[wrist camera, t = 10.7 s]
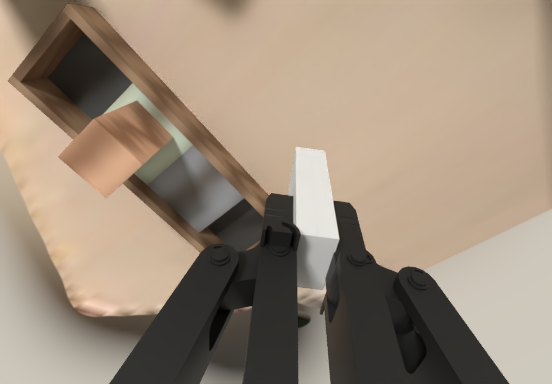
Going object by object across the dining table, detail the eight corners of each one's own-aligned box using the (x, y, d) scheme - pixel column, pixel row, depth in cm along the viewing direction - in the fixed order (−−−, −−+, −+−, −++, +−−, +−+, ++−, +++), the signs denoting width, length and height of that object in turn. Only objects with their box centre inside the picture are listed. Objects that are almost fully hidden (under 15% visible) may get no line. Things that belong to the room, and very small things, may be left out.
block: (173, 137, 41) (142, 164, 32) (143, 164, 43) (106, 198, 34) (137, 100, 39) (93, 118, 30) (107, 130, 41) (57, 156, 32)
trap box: (294, 222, 50) (295, 240, 45) (237, 261, 53) (233, 282, 49) (93, 7, 38) (68, 3, 33) (37, 76, 41) (7, 80, 37)
